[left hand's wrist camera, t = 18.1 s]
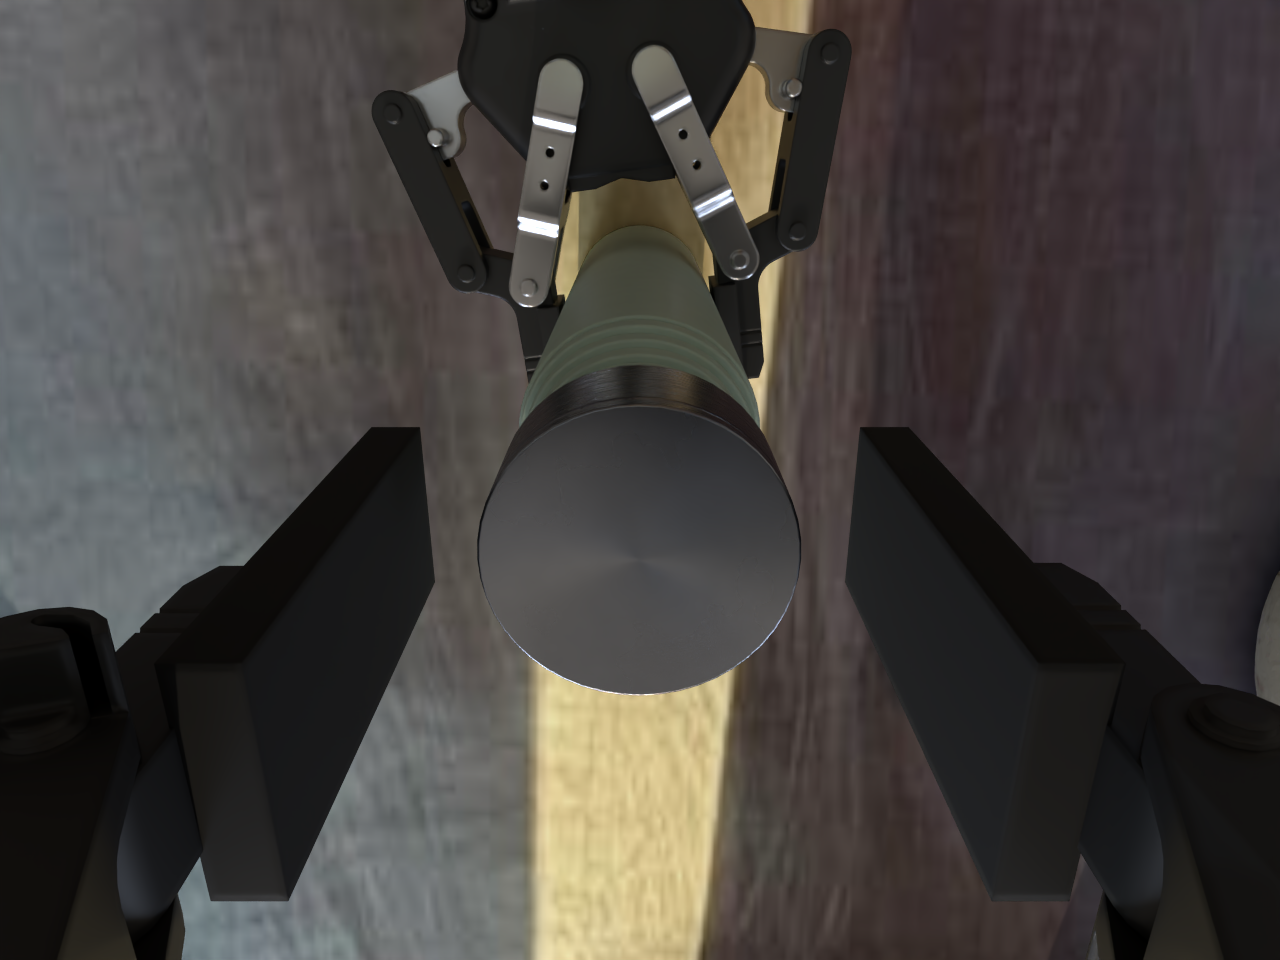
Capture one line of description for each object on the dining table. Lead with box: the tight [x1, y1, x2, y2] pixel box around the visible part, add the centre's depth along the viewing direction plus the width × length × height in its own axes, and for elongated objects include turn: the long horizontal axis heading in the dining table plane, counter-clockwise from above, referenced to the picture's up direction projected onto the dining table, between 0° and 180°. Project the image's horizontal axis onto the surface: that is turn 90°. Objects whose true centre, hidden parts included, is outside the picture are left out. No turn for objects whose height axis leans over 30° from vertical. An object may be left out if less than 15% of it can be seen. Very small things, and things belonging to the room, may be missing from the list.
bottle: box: [519, 225, 760, 428], centre depth 23 cm, size 5×5×23 cm
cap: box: [477, 365, 801, 695], centre depth 13 cm, size 4×4×2 cm
